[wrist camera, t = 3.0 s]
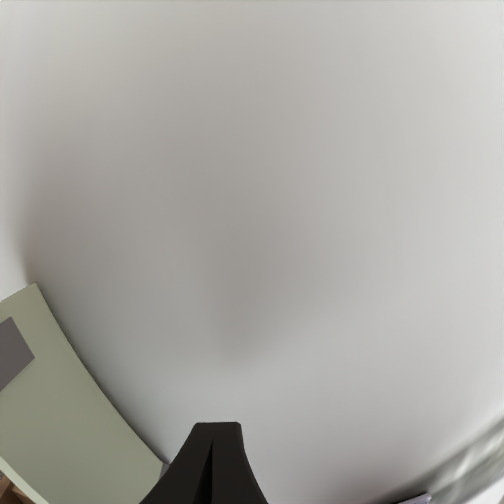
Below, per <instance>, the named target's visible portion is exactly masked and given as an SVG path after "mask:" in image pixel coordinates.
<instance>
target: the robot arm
mask: <svg viewBox="0 0 504 504" xmlns="http://www.w3.org/2000/svg"><path fill="white" fill-rule="evenodd" d="M430 499H431V495H430V493H427V494H424V495H421V496H418V497H416V498H413V499H410V500H407V501H404V502H401V503H398V504H429V500H430ZM139 504H268V502H267V501H266V499H265V497H264V495H263V493H262V491H261V489H260V487H259V486H258V483H257V481H256V479H255V477H254V475H253V472H252V470H251V467H250V465H249V462H248V459H247V456H246V453H245V450H244V443H243V437H242V430H241V424H239V423H238V422H213V423H196V424H195V425H194V426H193V428H192V430H191V432H190V434H189V436H188V438H187V439H186V441H185V443H184V445H183V446H182V448H181V449H180V451H179V453H178V454H177V456H176V457H175V459H174V460H173V462H172V463H171V465H170V466H169V467H168V469H167V470H166V472H165V473H164V474H163V476H162V477H161V478H160V480H159V481H158V482H157V483H156V484H155V486H154V487H153V488H152V489H151V491H150V492H149V493H148V494H147V495H146V496H145V497H144V499H143V500H142V501H141V502H140V503H139Z"/></svg>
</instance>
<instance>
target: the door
mask: <svg viewBox="0 0 504 504" xmlns="http://www.w3.org/2000/svg"><path fill="white" fill-rule="evenodd" d="M168 467H169V465H168V464H166V463H164V462H161V461H160V460H159V459H158V458H157V457H156V455H155V454H154V453H153V452H152V451H151V450H150V449H149V448H148V447H147V446H146V445H145V444H144V442H143V441H142V440H141V439H140V438H139V437H138V436H137V435H136V433H135V432H134V431H133V430H132V429H131V428H130V426H129V425H128V424H127V423H126V422H125V420H124V419H123V418H122V417H121V415H120V414H119V413H118V412H117V410H116V409H115V408H114V407H113V405H112V404H111V403H110V401H109V400H108V399H107V398H106V396H105V395H104V394H103V392H102V391H101V389H100V388H99V387H98V385H97V384H96V383H95V381H94V380H93V378H92V377H91V375H90V374H89V373H88V371H87V370H86V368H85V367H84V365H83V364H82V362H81V361H80V359H79V358H78V356H77V355H76V353H75V351H74V350H73V348H72V347H71V345H70V343H69V342H68V340H67V339H66V337H65V335H64V334H63V332H62V330H61V329H60V327H59V325H58V323H57V322H56V320H55V318H54V316H53V314H52V313H51V311H50V309H49V307H48V305H47V303H46V302H45V300H44V298H43V296H42V294H41V292H40V290H39V288H38V286H37V284H36V282H35V283H33V284H31V285H29V286H27V287H26V288H24V289H22V290H20V291H18V292H17V293H15V294H13V295H11V296H10V297H8V298H6V299H4V300H3V301H1V302H0V470H1V471H2V472H3V473H4V474H5V475H6V476H7V477H8V478H9V479H10V480H11V481H12V482H13V483H14V484H15V485H16V486H17V487H18V488H19V489H20V490H21V491H22V492H24V493H25V494H26V495H27V496H28V497H29V498H30V499H31V500H32V501H34V502H35V503H36V504H139V503H140V502H141V501H142V500H143V499H144V497H145V496H146V495H147V494H148V493H149V492H150V491H151V489H152V488H153V487H154V486H155V484H156V483H157V482H158V481H159V480H160V478H161V477H162V476H163V474H164V473H165V472H166V470H167V469H168Z"/></svg>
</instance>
